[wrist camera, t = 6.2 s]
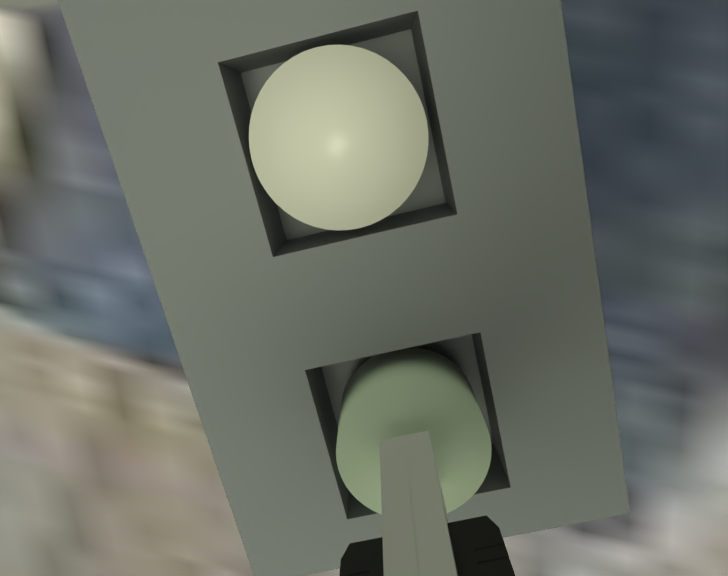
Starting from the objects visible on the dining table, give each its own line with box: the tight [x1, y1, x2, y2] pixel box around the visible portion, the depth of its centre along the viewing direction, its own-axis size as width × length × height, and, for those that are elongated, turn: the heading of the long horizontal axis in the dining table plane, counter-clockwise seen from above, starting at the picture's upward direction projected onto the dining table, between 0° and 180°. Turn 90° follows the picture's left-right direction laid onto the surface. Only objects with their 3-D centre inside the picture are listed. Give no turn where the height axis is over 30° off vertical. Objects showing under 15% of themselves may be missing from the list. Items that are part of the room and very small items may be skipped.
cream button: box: [249, 45, 428, 230], centre depth 17 cm, size 5×5×3 cm
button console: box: [58, 0, 630, 576], centre depth 20 cm, size 14×30×6 cm, turn 13°
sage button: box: [336, 347, 492, 515], centre depth 20 cm, size 5×5×3 cm
